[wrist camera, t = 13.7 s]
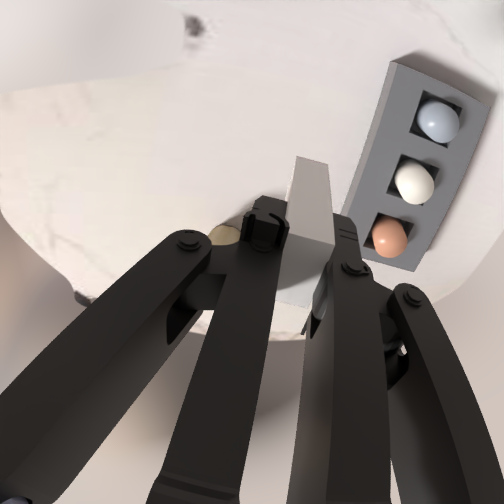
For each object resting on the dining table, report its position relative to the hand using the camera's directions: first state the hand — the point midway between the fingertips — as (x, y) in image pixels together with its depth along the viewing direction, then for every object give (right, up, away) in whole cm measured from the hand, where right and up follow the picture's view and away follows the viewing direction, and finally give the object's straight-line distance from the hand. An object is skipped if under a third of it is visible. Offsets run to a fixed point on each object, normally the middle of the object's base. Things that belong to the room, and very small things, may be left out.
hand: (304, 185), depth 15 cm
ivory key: (+19, +7, +25) cm, 32 cm away
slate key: (+21, +14, +19) cm, 32 cm away
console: (+19, +9, +27) cm, 34 cm away
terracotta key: (+17, 0, +30) cm, 35 cm away
